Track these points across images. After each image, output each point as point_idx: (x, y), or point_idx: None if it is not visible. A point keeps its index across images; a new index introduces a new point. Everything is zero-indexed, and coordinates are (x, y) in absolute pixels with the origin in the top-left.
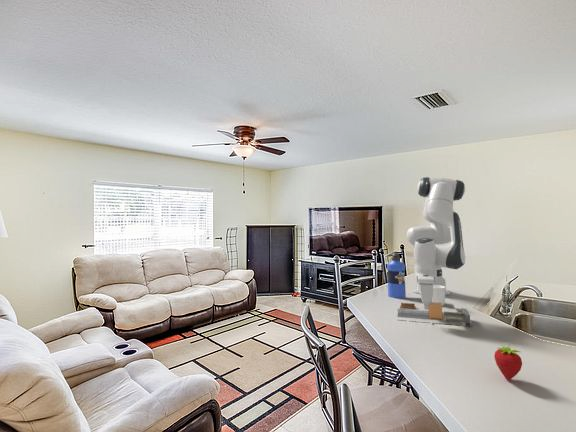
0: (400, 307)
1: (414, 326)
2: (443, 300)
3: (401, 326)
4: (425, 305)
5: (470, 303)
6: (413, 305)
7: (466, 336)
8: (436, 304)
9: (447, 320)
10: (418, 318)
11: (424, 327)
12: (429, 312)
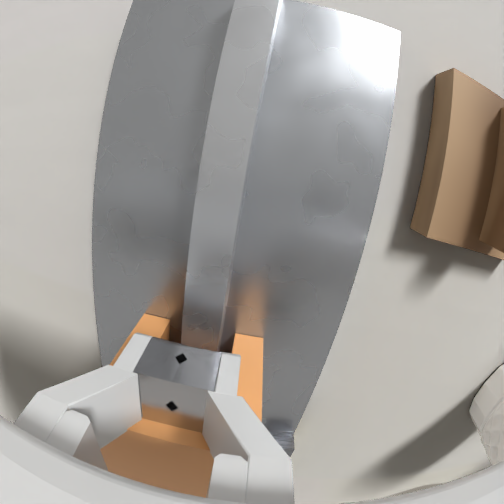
0: (500, 101)
1: (22, 152)
2: (485, 449)
3: (21, 64)
4: (119, 374)
5: (473, 472)
6: (501, 237)
7: (7, 378)
8: (132, 474)
9: None
10: (95, 200)
11: (20, 222)
12: (122, 348)
